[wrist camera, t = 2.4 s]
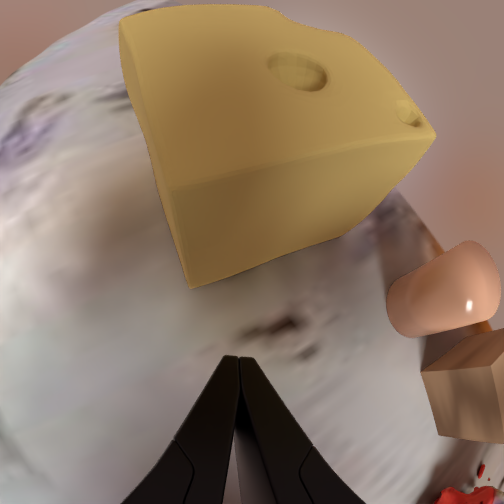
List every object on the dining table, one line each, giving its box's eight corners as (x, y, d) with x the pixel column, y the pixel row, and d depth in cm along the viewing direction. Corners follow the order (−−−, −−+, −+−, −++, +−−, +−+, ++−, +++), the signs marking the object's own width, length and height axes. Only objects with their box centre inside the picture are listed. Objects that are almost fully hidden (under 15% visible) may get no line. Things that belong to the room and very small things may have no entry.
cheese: (281, 115, 21) (318, -1, 12) (352, 244, 18) (456, 145, 9) (138, 147, 19) (113, 15, 9) (184, 304, 16) (152, 216, 6)
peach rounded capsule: (438, 331, 17) (506, 312, 11) (391, 343, 16) (462, 328, 11) (427, 273, 18) (489, 239, 13) (380, 278, 18) (443, 241, 12)
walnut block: (481, 395, 16) (544, 391, 10) (438, 434, 14) (504, 444, 9) (465, 337, 17) (530, 320, 12) (419, 372, 16) (490, 365, 10)
